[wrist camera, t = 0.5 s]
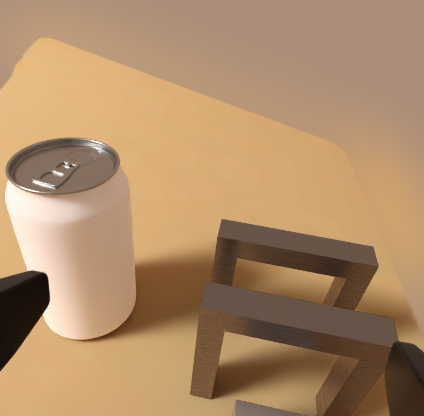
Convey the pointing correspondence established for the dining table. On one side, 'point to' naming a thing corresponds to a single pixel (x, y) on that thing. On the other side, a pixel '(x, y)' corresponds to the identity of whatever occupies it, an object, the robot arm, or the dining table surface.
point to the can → (75, 232)
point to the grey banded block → (259, 410)
